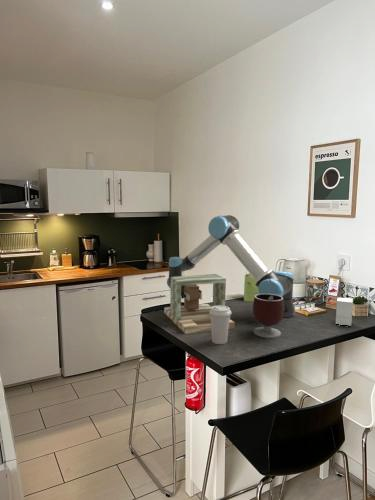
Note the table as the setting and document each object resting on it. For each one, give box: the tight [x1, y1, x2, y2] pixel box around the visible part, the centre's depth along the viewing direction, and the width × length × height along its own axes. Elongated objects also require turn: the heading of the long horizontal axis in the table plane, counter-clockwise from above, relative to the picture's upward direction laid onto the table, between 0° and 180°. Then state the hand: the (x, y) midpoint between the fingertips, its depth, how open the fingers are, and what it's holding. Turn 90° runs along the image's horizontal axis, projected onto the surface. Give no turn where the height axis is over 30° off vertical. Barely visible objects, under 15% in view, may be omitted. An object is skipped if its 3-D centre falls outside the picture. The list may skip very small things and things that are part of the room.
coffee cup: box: [209, 305, 232, 345], centre depth 167 cm, size 10×10×15 cm
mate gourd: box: [252, 294, 284, 339], centre depth 178 cm, size 16×14×20 cm
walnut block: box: [183, 285, 200, 310], centre depth 203 cm, size 6×6×12 cm
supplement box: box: [335, 297, 354, 327], centre depth 194 cm, size 7×7×13 cm
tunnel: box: [163, 273, 236, 335], centre depth 195 cm, size 34×25×22 cm
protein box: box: [243, 272, 259, 303], centre depth 237 cm, size 10×15×16 cm
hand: (195, 297), depth 198 cm, fingers closed on walnut block, 6 cm apart
